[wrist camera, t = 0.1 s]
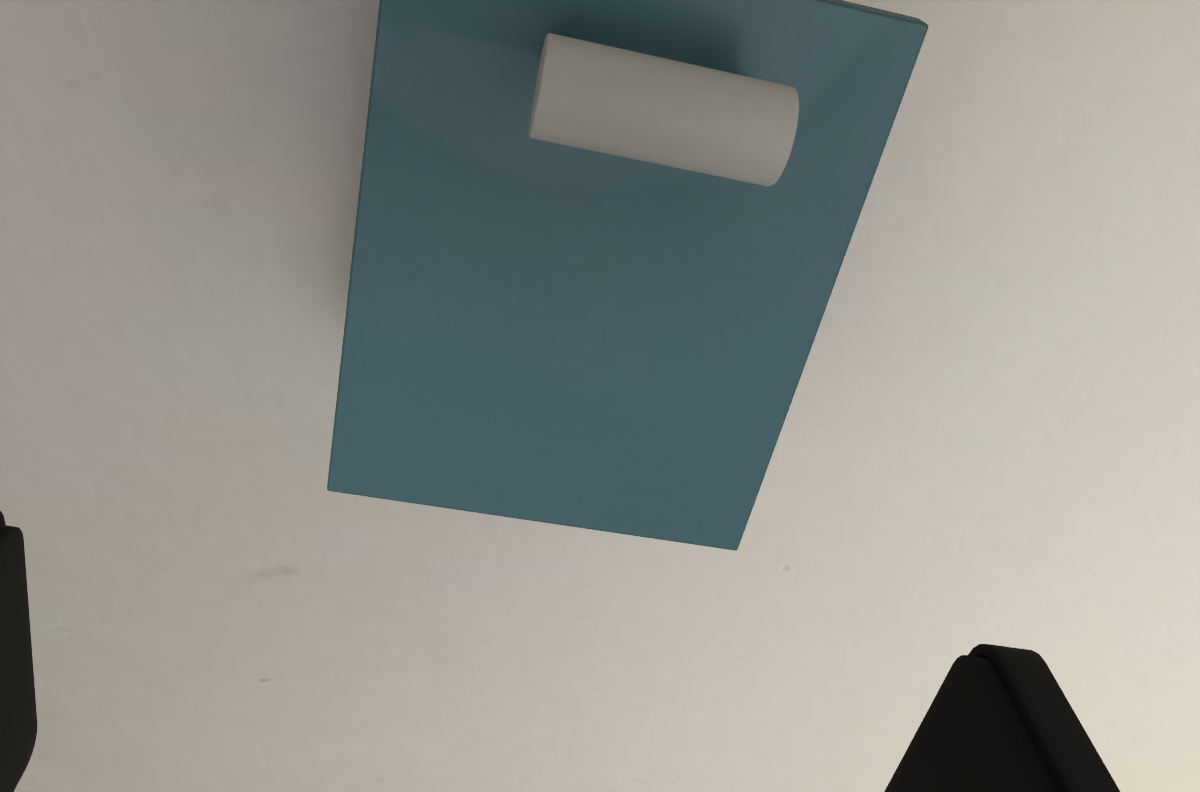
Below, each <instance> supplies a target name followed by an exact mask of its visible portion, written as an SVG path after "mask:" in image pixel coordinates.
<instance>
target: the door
mask: <svg viewBox="0 0 1200 792" xmlns="http://www.w3.org/2000/svg"><path fill="white" fill-rule="evenodd" d="M927 29H928V25H927V24H926V23H924V22H923V21H921V20H919V19H918V18H914V17H910V16H906V15H902V14H897V13H893V12H889V11H885V10H880V9H876V8H872V7H868V6H863V5H859V4H855V3H851V2H846V1H842V0H380V5H379V15H378V24H377V33H376V42H375V52H374V61H373V70H372V79H371V89H370V98H369V107H368V116H367V125H366V135H365V144H364V153H363V162H362V172H361V181H360V190H359V199H358V208H357V218H356V227H355V236H354V245H353V255H352V264H351V273H350V282H349V292H348V301H347V310H346V319H345V328H344V338H343V347H342V356H341V365H340V375H339V384H338V393H337V402H336V412H335V421H334V430H333V439H332V448H331V458H330V467H329V476H328V485H327V489H328V490H329V491H334V492H341V493H348V494H354V495H361V496H368V497H375V498H382V499H389V500H395V501H402V502H409V503H416V504H423V505H429V506H436V507H443V508H450V509H457V510H464V511H470V512H477V513H484V514H491V515H498V516H504V517H511V518H518V519H525V520H532V521H539V522H545V523H552V524H559V525H566V526H573V527H579V528H586V529H593V530H600V531H607V532H614V533H620V534H627V535H634V536H641V537H648V538H655V539H661V540H668V541H675V542H682V543H689V544H695V545H702V546H709V547H716V548H723V549H730V550H737V549H738V546H739V544H740V541H741V538H742V536H743V533H744V530H745V527H746V525H747V522H748V519H749V516H750V514H751V511H752V508H753V505H754V503H755V500H756V497H757V494H758V492H759V489H760V486H761V484H762V481H763V478H764V475H765V473H766V470H767V467H768V464H769V462H770V459H771V456H772V453H773V451H774V448H775V445H776V442H777V440H778V437H779V434H780V431H781V429H782V426H783V423H784V421H785V418H786V415H787V412H788V410H789V407H790V404H791V401H792V399H793V396H794V393H795V390H796V388H797V385H798V382H799V379H800V377H801V374H802V371H803V369H804V366H805V363H806V360H807V358H808V355H809V352H810V349H811V347H812V344H813V341H814V338H815V336H816V333H817V330H818V327H819V325H820V322H821V319H822V317H823V314H824V311H825V308H826V306H827V303H828V300H829V297H830V295H831V292H832V289H833V286H834V284H835V281H836V278H837V275H838V273H839V270H840V267H841V265H842V262H843V259H844V256H845V254H846V251H847V248H848V245H849V243H850V240H851V237H852V234H853V232H854V229H855V226H856V223H857V221H858V218H859V215H860V213H861V210H862V207H863V204H864V202H865V199H866V196H867V193H868V191H869V188H870V185H871V182H872V180H873V177H874V174H875V171H876V169H877V166H878V163H879V161H880V158H881V155H882V152H883V150H884V147H885V144H886V141H887V139H888V136H889V133H890V130H891V128H892V125H893V122H894V119H895V117H896V114H897V111H898V109H899V106H900V103H901V100H902V98H903V95H904V92H905V89H906V87H907V84H908V81H909V78H910V76H911V73H912V70H913V67H914V65H915V62H916V59H917V57H918V54H919V51H920V48H921V46H922V43H923V40H924V37H925V35H926V32H927Z"/></svg>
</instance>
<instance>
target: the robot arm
mask: <svg viewBox="0 0 1200 792" xmlns="http://www.w3.org/2000/svg"><path fill="white" fill-rule="evenodd" d="M36 734H37V715H36V702H35V688H34V674H33V661H32V647H31V634H30V620H29V607H28V593H27V580H26V566H25V553H24V540H23V534H22V531H21V530H20V528H17V527H13V526H6V525H5V520H4V516H3V514H2V512H1V511H0V792H14V790H15V788H16V786H17V784H18V782H19V780H20V778H21V776H22V775H23V773H24V771H25V769H26V767H27V765H28V762H29V760H30V757H31V755H32V752H33V748H34V744H35V741H36ZM885 792H1120V791H1119V789H1118V787H1117V785H1116V784H1115V782H1114V780H1113V778H1112V777H1111V775H1110V773H1109V772H1108V770H1107V768H1106V766H1105V765H1104V763H1103V761H1102V759H1101V758H1100V756H1099V754H1098V753H1097V751H1096V749H1095V747H1094V746H1093V744H1092V742H1091V740H1090V739H1089V737H1088V735H1087V733H1086V732H1085V730H1084V728H1083V727H1082V725H1081V723H1080V721H1079V720H1078V718H1077V716H1076V714H1075V713H1074V711H1073V709H1072V707H1071V706H1070V704H1069V702H1068V701H1067V699H1066V697H1065V695H1064V694H1063V692H1062V690H1061V688H1060V687H1059V685H1058V683H1057V682H1056V680H1055V678H1054V676H1053V675H1052V673H1051V671H1050V669H1049V668H1048V666H1047V664H1046V662H1045V661H1044V660H1043V659H1042V657H1041V656H1040V655H1039V654H1038V653H1036V652H1034V651H1032V650H1026V649H1018V648H1011V647H1004V646H996V645H989V644H979V645H978V646H976V647H974V648H973V649H972V651H971V652H970V653H969V655H968V656H967V655H962V656H960V657H958V658H957V659H956V661H955V662H954V663H953V665H952V667H951V669H950V671H949V672H948V674H947V676H946V678H945V680H944V682H943V684H942V685H941V687H940V689H939V691H938V693H937V695H936V697H935V699H934V700H933V702H932V704H931V706H930V708H929V710H928V712H927V713H926V715H925V717H924V719H923V721H922V723H921V725H920V727H919V728H918V730H917V732H916V734H915V736H914V738H913V740H912V741H911V743H910V745H909V747H908V749H907V751H906V753H905V755H904V756H903V758H902V760H901V762H900V764H899V766H898V768H897V769H896V771H895V773H894V775H893V777H892V779H891V781H890V783H889V784H888V786H887V788H886V790H885Z"/></svg>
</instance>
